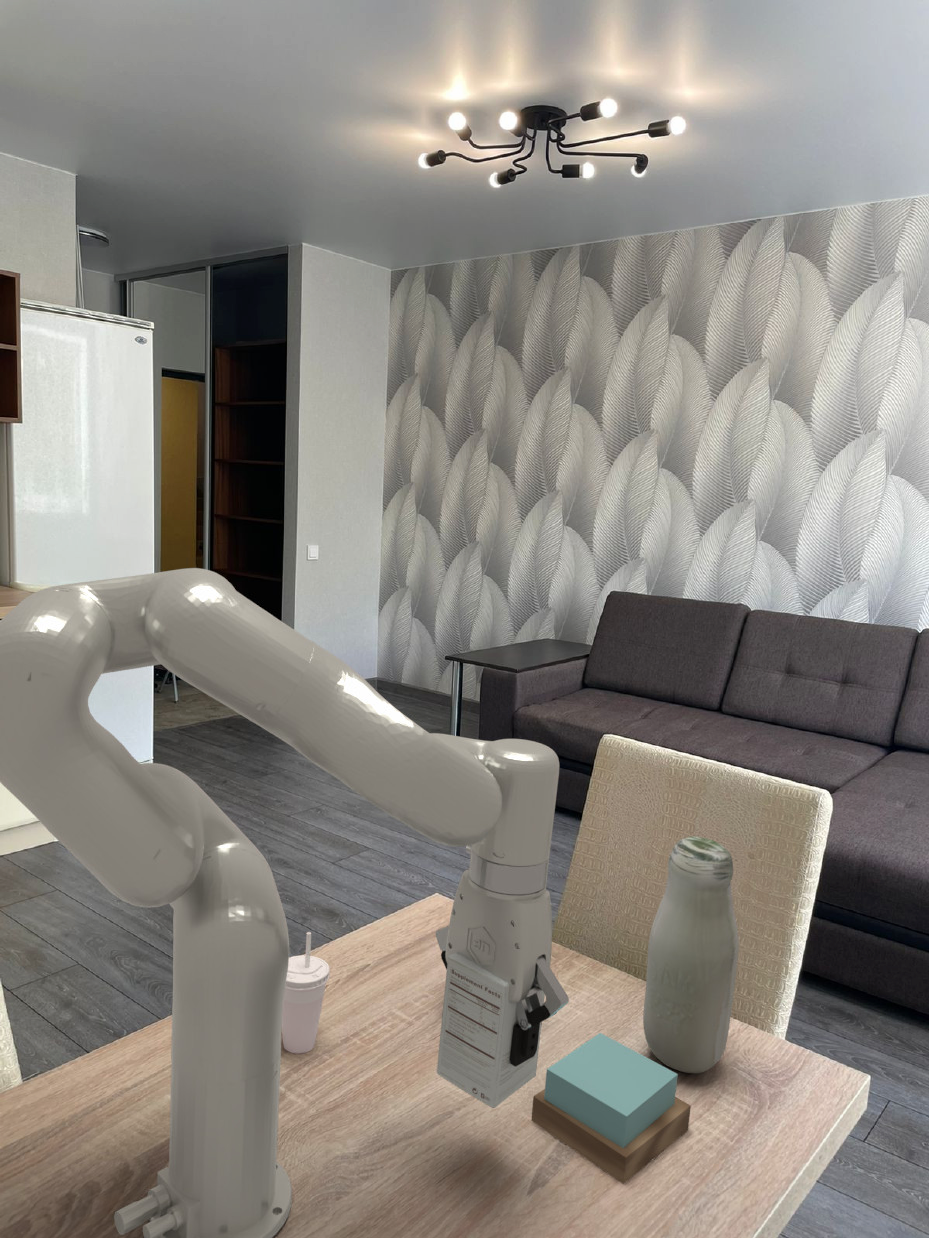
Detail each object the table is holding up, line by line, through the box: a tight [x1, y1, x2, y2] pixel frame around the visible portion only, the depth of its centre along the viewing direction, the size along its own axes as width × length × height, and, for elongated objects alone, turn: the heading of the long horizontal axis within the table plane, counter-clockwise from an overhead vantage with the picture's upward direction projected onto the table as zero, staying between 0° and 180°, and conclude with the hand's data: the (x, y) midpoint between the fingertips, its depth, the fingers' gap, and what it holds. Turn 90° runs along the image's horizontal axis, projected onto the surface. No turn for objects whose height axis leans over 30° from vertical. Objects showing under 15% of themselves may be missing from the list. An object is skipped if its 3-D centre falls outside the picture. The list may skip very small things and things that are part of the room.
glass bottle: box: [642, 836, 740, 1074], centre depth 110 cm, size 10×10×28 cm
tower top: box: [544, 1032, 679, 1148], centre depth 99 cm, size 10×10×4 cm
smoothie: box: [281, 931, 331, 1054], centre depth 109 cm, size 6×6×14 cm
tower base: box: [530, 1088, 692, 1185], centre depth 100 cm, size 12×12×4 cm
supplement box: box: [436, 953, 546, 1109], centre depth 91 cm, size 7×7×13 cm
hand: (490, 1038), depth 91 cm, fingers closed on supplement box, 7 cm apart
